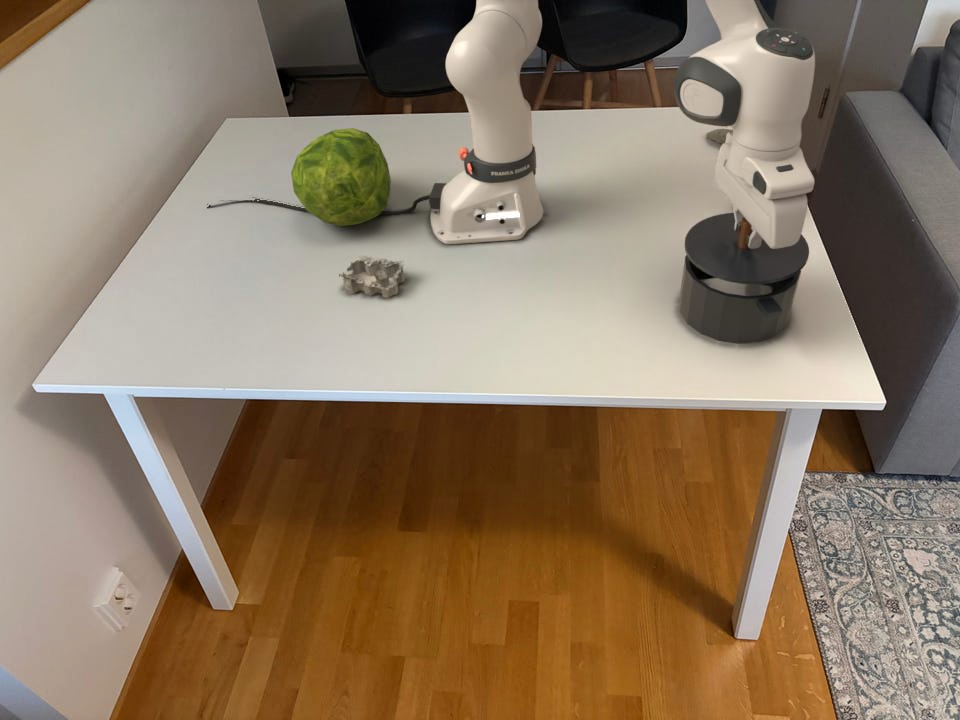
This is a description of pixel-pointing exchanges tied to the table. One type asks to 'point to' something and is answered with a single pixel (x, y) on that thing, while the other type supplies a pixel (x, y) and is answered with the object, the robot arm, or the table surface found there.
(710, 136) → the soupspoon
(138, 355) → the table surface
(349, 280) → the egg carton
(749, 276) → the pot lid
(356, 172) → the lettuce
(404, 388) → the table surface
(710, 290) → the pot
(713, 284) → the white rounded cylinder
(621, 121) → the table surface
